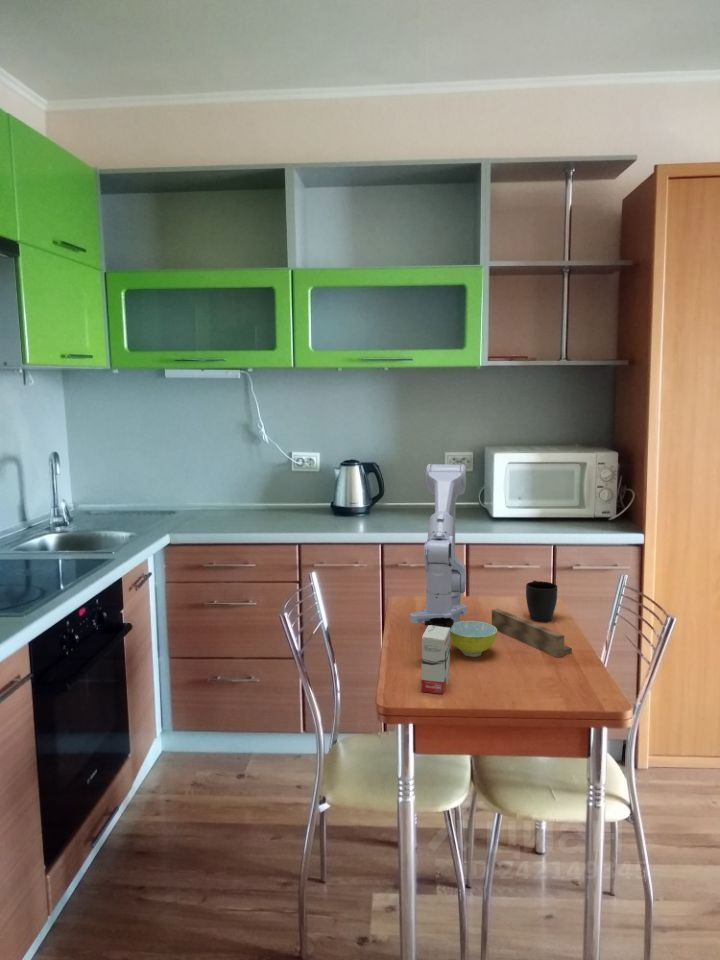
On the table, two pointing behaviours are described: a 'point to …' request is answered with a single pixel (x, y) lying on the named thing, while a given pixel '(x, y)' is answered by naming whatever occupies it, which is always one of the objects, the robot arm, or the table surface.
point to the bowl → (472, 637)
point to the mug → (541, 600)
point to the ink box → (435, 659)
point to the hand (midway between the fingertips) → (438, 648)
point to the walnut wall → (530, 633)
